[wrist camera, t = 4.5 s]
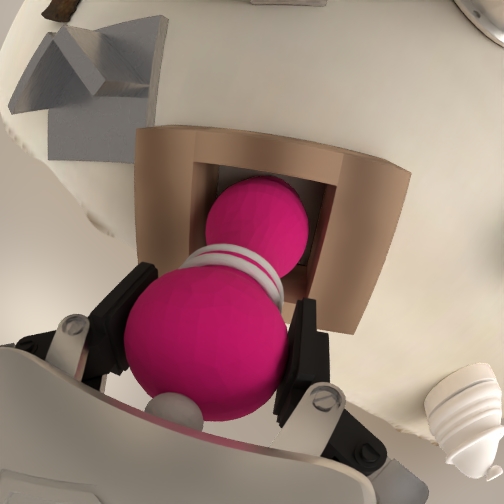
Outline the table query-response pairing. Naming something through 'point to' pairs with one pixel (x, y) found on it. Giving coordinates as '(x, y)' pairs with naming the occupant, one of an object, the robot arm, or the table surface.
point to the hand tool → (60, 10)
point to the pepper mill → (221, 310)
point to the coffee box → (291, 2)
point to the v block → (95, 88)
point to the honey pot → (467, 419)
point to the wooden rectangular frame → (280, 162)
